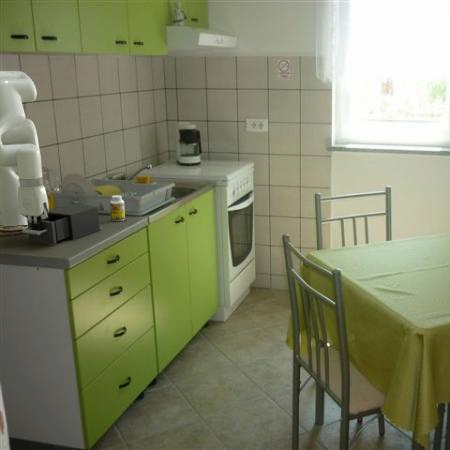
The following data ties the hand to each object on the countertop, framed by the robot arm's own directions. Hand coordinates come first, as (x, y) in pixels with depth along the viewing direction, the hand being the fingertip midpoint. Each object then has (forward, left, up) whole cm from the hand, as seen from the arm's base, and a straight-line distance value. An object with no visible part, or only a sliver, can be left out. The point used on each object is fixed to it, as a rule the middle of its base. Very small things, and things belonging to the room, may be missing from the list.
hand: (36, 233), depth 208 cm
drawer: (0, +6, -4) cm, 7 cm away
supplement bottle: (+3, +41, -5) cm, 41 cm away
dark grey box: (0, +18, -5) cm, 18 cm away
